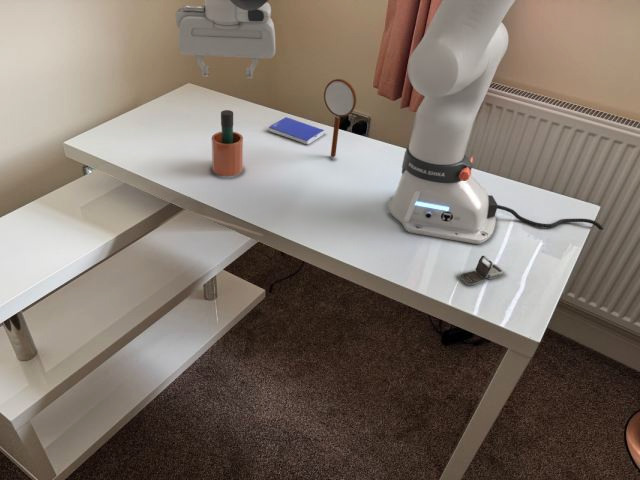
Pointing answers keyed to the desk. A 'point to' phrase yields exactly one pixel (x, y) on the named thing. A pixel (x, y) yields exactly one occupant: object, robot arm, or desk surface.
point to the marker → (227, 126)
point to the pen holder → (227, 155)
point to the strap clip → (482, 272)
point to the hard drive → (296, 130)
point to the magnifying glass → (339, 104)
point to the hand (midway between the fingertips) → (227, 76)
